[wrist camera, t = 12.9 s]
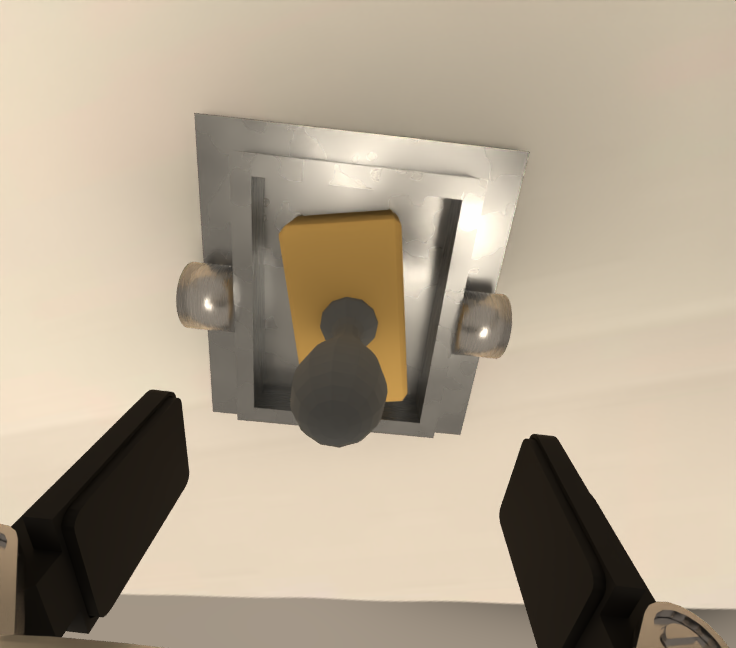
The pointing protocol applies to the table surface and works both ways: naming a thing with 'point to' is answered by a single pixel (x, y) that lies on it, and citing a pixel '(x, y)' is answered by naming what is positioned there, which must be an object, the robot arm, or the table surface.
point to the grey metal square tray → (344, 195)
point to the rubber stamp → (345, 321)
